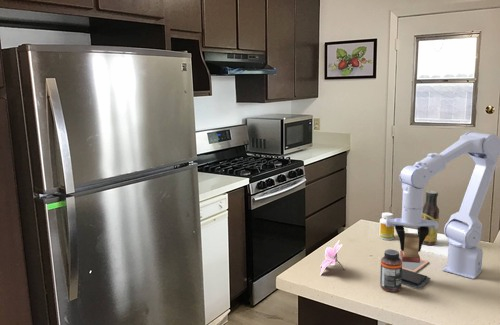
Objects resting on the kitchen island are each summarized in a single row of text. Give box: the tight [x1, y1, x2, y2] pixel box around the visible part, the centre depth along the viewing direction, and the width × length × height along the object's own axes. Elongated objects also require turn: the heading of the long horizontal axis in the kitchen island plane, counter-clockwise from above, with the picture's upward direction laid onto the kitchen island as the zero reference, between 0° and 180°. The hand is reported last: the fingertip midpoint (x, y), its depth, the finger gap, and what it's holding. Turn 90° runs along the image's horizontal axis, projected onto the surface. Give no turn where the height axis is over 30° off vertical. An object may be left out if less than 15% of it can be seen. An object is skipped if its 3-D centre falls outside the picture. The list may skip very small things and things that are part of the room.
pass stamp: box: [399, 232, 421, 263], centre depth 130 cm, size 5×5×8 cm
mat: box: [399, 252, 430, 273], centre depth 144 cm, size 11×11×1 cm
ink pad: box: [401, 269, 432, 290], centre depth 132 cm, size 10×8×1 cm
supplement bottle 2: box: [379, 248, 402, 293], centre depth 126 cm, size 6×6×11 cm
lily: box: [319, 240, 345, 276], centre depth 139 cm, size 12×12×10 cm
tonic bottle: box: [422, 189, 440, 246], centre depth 160 cm, size 6×6×20 cm
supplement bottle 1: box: [378, 211, 395, 241], centre depth 167 cm, size 5×5×10 cm
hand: (410, 250), depth 131 cm, fingers closed on pass stamp, 4 cm apart
